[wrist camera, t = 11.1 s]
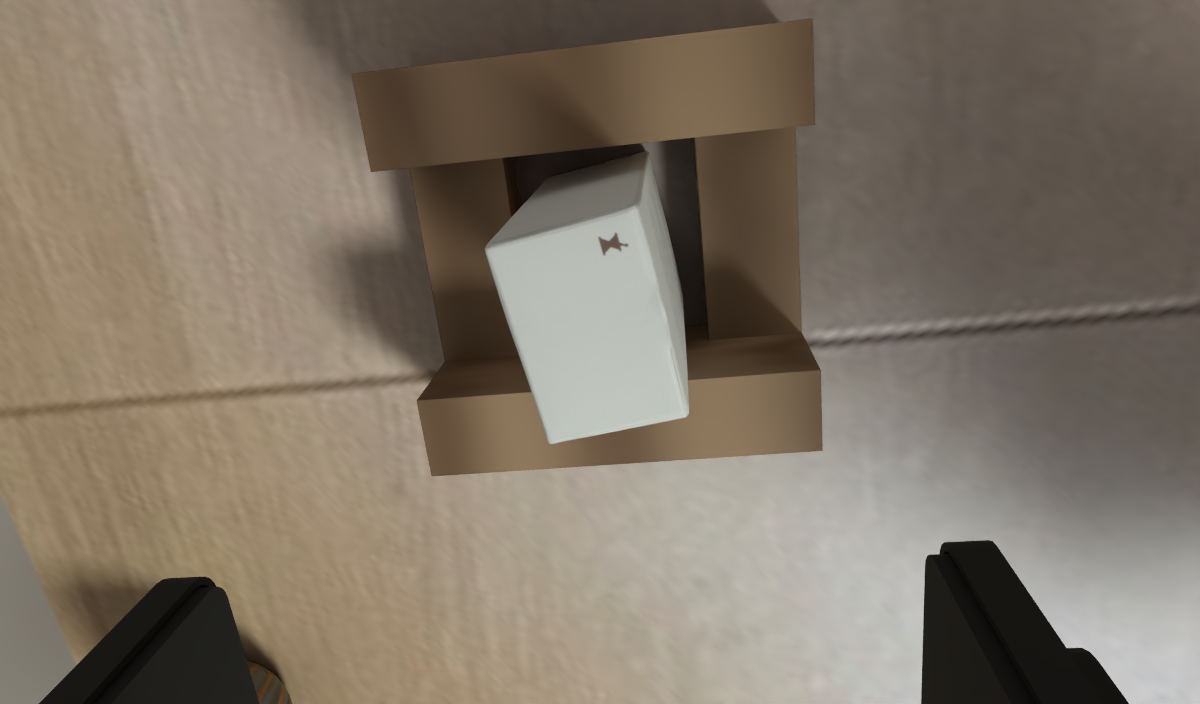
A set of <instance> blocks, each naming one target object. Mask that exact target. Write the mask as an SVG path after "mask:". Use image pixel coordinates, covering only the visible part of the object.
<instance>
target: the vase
mask: <svg viewBox="0 0 1200 704" xmlns="http://www.w3.org/2000/svg"><path fill="white" fill-rule="evenodd" d="M247 664H248V667H249V670H250V674H251V677H252V680H253V684H254V687H255V690H256V694H257V697H258V700H259V704H292V701H291V698H290V696H289V693H288V692H287V690H286V688H285V687H284V685H283V684H282V682H281V681H280V680H279V679H278V678H277V676H275V675H274V674H273V673H272V672H271V671H270V670H268V669H266V668H265V667H263V666H261V665H259V664H256V663H253V662H249V661H247Z"/></svg>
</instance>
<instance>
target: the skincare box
mask: <svg viewBox="0 0 1200 704" xmlns="http://www.w3.org/2000/svg"><path fill="white" fill-rule="evenodd" d="M485 253H486V256H487V259H488V262H489V266H490V269H491V272H492V275H493V278H494V281H495V285H496V288H497V291H498V294H499V297H500V301H501V304H502V307H503V310H504V313H505V316H506V319H507V322H508V325H509V328H510V331H511V334H512V337H513V340H514V342H515V345H516V348H517V351H518V354H519V357H520V360H521V362H522V365H523V368H524V371H525V374H526V377H527V380H528V383H529V386H530V389H531V392H532V395H533V398H534V401H535V405H536V407H537V410H538V413H539V416H540V419H541V422H542V425H543V429H544V432H545V435H546V439H547V441H548V443H549V444H554V443H559V442H563V441H568V440H574V439H579V438H584V437H589V436H594V435H600V434H605V433H610V432H615V431H620V430H625V429H630V428H635V427H641V426H646V425H651V424H656V423H661V422H666V421H671V420H676V419H681V418H685V417H687V416H688V414H689V398H688V375H687V358H686V341H685V327H684V310H683V291H682V287H681V282H680V278H679V273H678V269H677V264H676V260H675V256H674V252H673V248H672V244H671V240H670V235H669V231H668V227H667V223H666V219H665V215H664V211H663V207H662V203H661V200H660V196H659V192H658V188H657V184H656V180H655V176H654V172H653V168H652V164H651V159H650V155H649V152H647V151H645V152H641V153H638V154H634V155H630V156H626V157H622V158H618V159H614V160H610V161H606V162H602V163H599V164H595V165H592V166H589V167H585V168H581V169H578V170H574V171H571V172H567V173H563V174H560V175H555V176H551V177H548V178H547V179H546V180H545V181H544V182H543V183H542V185H541V186H540V187H539V188H538V189H537V190H536V191H535V192H534V193H533V194H532V195H531V197H530V198H529V199H528V200H527V201H526V202H525V203H524V204H523V205H522V206H521V208H520V209H519V210H518V211H517V212H516V213H515V214H514V215H513V216H512V217H511V219H510V220H509V221H508V222H507V223H506V224H505V225H504V226H503V227H502V228H501V229H500V231H499V232H498V233H497V234H496V235H495V236H494V237H493V238H492V239H491V240H490V241H489V243H488V244H487V245H486V247H485Z"/></svg>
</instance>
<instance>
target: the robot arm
mask: <svg viewBox="0 0 1200 704" xmlns="http://www.w3.org/2000/svg"><path fill="white" fill-rule="evenodd" d="M39 704H259V700H258V697H257V694H256V690H255V687H254V684H253V680H252V677H251V674H250V670H249V667H248V664H247V660H246V657H245V654H244V650H243V647H242V644H241V640H240V637H239V634H238V630H237V627H236V624H235V620H234V617H233V614H232V610H231V607H230V604H229V600H228V597H227V595H226V592H225V591H224V590H223V589H222V588H220V587H216V585H215V583H214V582H213V581H212V580H211V579H210V578H207V577H187V578H168V579H164V580H162V581H160V582H159V583H157V584H156V585H155V586H154V587H153V588H152V589H151V590H150V591H149V592H148V593H147V594H146V595H145V596H144V597H143V598H142V599H141V600H140V601H139V603H138V604H137V605H136V606H135V607H134V608H133V609H132V610H131V611H130V612H129V613H128V614H127V615H126V616H125V617H124V618H123V619H122V620H121V621H120V622H119V623H118V624H117V625H116V626H115V627H114V628H113V629H112V630H111V631H110V632H109V633H108V634H107V635H106V636H105V637H104V638H103V639H102V640H101V641H100V642H99V643H98V644H97V645H96V646H95V647H94V648H93V649H92V650H91V651H90V652H89V653H88V654H87V655H86V656H85V657H84V658H83V659H82V660H81V661H80V663H79V664H78V665H77V666H76V667H75V668H74V669H73V670H72V671H71V672H70V673H69V674H68V675H67V676H66V677H65V678H64V679H63V680H62V681H61V682H60V683H59V684H58V685H57V686H56V687H55V688H54V689H53V690H52V691H51V692H50V693H49V694H48V695H47V696H46V697H45V698H44V699H43V700H42V701H41V702H40V703H39ZM921 704H1129V703H1128V702H1127V700H1126V699H1125V698H1124V696H1123V695H1122V693H1121V692H1120V691H1119V689H1118V688H1117V687H1116V685H1115V684H1114V682H1113V681H1112V680H1111V678H1110V677H1109V675H1108V674H1107V673H1106V671H1105V670H1104V669H1103V667H1102V666H1101V664H1100V663H1099V662H1098V660H1097V659H1096V658H1095V657H1094V656H1093V655H1092V654H1091V653H1090V652H1089V651H1087V650H1085V649H1083V648H1066V647H1065V645H1064V644H1063V642H1062V641H1061V640H1060V638H1059V637H1058V635H1057V634H1056V632H1055V631H1054V629H1053V628H1052V626H1051V625H1050V623H1049V622H1048V620H1047V619H1046V618H1045V616H1044V615H1043V613H1042V612H1041V610H1040V609H1039V607H1038V606H1037V604H1036V603H1035V601H1034V600H1033V598H1032V597H1031V596H1030V594H1029V593H1028V591H1027V590H1026V588H1025V587H1024V585H1023V584H1022V582H1021V581H1020V579H1019V578H1018V576H1017V575H1016V574H1015V572H1014V571H1013V569H1012V568H1011V566H1010V565H1009V563H1008V562H1007V560H1006V559H1005V557H1004V556H1003V554H1002V553H1001V552H1000V550H999V549H998V547H997V546H996V545H995V544H994V542H993V541H989V540H987V541H965V542H944V543H943V544H942V546H941V549H940V555H928V556H927V558H926V564H925V593H924V628H923V664H922V699H921Z"/></svg>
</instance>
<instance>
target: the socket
mask: <svg viewBox="0 0 1200 704" xmlns="http://www.w3.org/2000/svg"><path fill="white" fill-rule="evenodd" d="M352 79H353V84H354V89H355V94H356V99H357V104H358V109H359V114H360V119H361V124H362V129H363V134H364V139H365V144H366V149H367V154H368V159H369V164H370V169H371V172H375V171H385V170H394V169H403V168H410V173H411V179H412V184H413V190H414V195H415V201H416V206H417V211H418V217H419V222H420V228H421V233H422V239H423V244H424V250H425V255H426V260H427V266H428V271H429V277H430V282H431V288H432V293H433V299H434V304H435V309H436V315H437V320H438V326H439V331H440V337H441V342H442V347H443V353H444V358H445V362H444V364H443V365H442V367H441V368H440V369H439V371H438V372H437V373H436V375H435V376H434V378H433V379H432V380H431V382H430V383H429V385H428V386H427V387H426V389H425V390H424V391H423V393H422V394H421V396H420V397H419V398H418V400H417V405H418V410H419V415H420V420H421V425H422V430H423V435H424V440H425V445H426V450H427V455H428V460H429V465H430V470H431V475H432V476H444V475H459V474H474V473H489V472H505V471H520V470H535V469H550V468H566V467H581V466H596V465H611V464H627V463H642V462H657V461H672V460H688V459H703V458H718V457H733V456H749V455H764V454H779V453H795V452H810V451H822V407H821V370H820V368H819V366H818V364H817V362H816V360H815V358H814V356H813V354H812V352H811V350H810V348H809V346H808V344H807V343H806V341H805V339H804V337H803V335H802V331H801V298H800V266H799V233H798V201H797V168H796V135H795V127H797V126H806V125H815V103H814V60H813V18H812V19H804V20H796V21H787V22H779V23H771V24H762V25H754V26H746V27H737V28H729V29H721V30H713V31H704V32H696V33H688V34H679V35H671V36H663V37H654V38H646V39H638V40H629V41H621V42H613V43H604V44H596V45H588V46H579V47H571V48H563V49H554V50H546V51H538V52H529V53H521V54H513V55H505V56H496V57H488V58H480V59H471V60H463V61H455V62H446V63H438V64H430V65H421V66H413V67H405V68H396V69H388V70H380V71H371V72H363V73H355V74H352ZM684 138H694V152H695V166H696V180H697V194H698V208H699V223H700V237H701V251H702V265H703V279H704V293H705V307H706V322H707V325H696V326H684V327H685V341H686V358H687V375H688V398H689V414H688V416H687V417H685V418H681V419H676V420H671V421H666V422H661V423H656V424H651V425H646V426H641V427H635V428H630V429H625V430H620V431H615V432H610V433H605V434H600V435H594V436H589V437H584V438H579V439H574V440H568V441H563V442H559V443H554V444H549V443H548V441H547V439H546V435H545V432H544V429H543V425H542V422H541V419H540V416H539V413H538V410H537V407H536V405H535V401H534V398H533V395H532V392H531V389H530V386H529V383H528V380H527V377H526V374H525V371H524V368H523V365H522V362H521V360H520V357H519V354H518V351H517V348H516V345H515V342H514V340H513V337H512V334H511V331H510V328H509V325H508V322H507V319H506V316H505V313H504V310H503V307H502V304H501V301H500V297H499V294H498V291H497V288H496V285H495V281H494V278H493V275H492V272H491V269H490V266H489V262H488V259H487V256H486V253H485V247H486V245H487V244H488V243H489V241H490V240H491V239H492V238H493V237H494V236H495V235H496V234H497V233H498V232H499V231H500V229H501V228H502V227H503V226H504V225H505V224H506V223H507V222H508V221H509V220H510V219H511V217H512V216H513V215H514V214H515V213H516V212H517V211H518V210H519V209H520V206H519V199H518V192H517V185H516V178H515V170H514V163H513V157H516V156H525V155H534V154H544V153H553V152H563V151H572V150H581V149H591V148H600V147H609V146H619V145H628V144H637V143H647V142H656V141H666V140H675V139H684Z"/></svg>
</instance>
